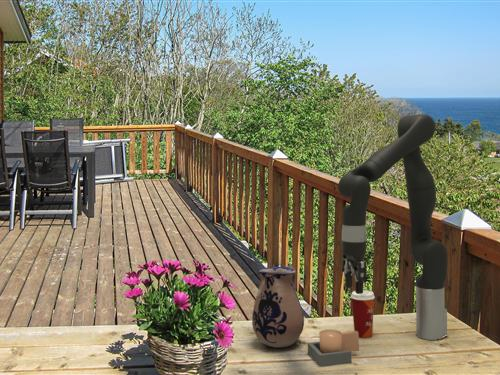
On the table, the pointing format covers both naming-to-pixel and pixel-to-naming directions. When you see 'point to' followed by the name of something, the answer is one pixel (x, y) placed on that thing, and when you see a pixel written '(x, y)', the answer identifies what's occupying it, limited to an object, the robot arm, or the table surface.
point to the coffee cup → (363, 313)
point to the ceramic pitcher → (277, 308)
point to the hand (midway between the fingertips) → (353, 290)
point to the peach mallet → (338, 341)
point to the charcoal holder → (328, 356)
